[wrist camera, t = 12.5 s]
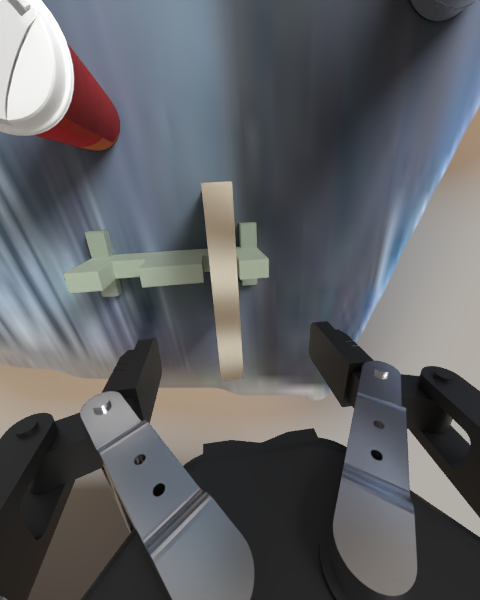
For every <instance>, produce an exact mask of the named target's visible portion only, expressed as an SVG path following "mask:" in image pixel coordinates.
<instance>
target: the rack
mask: <svg viewBox="0 0 480 600" xmlns="http://www.w3.org/2000/svg"><path fill="white" fill-rule="evenodd" d="M85 236H86V239H87V243H88V247H89V250H90V254H91V257H92V259H90V260H88V261H86V262H84V263H82V264H80V265H79V266H77V267H75V268H73V269H71V270H69V271H67V272H66V273H64V277H65V281H66V284H67V287H68V290H69V293H80V292H93V291H101V294H102V297H112V296H119V295H120V294H121V293H122V288H121V284H120V280H119V278H132V277H140V280H141V284H142V288H143V287H155V286H168V285H180V284H193V283H204V272H210V265H209V255H208V249H192V250H177V251H162V252H146V253H131V254H116V255H113V250H112V246H111V242H110V238H109V234H108V230H99V231H89V232H85ZM239 241H240V246H238V247H236V258H237V274H238V276H239V279H240V280H241V283H242V285H243V286H245V285H257V278H268V277H269V259H268V258H267V257H266V256H265V255H264V254H263V253H262V252H261V251H260V250H259V249H258V248H257V231H256V223H255V222H244V223H239Z"/></svg>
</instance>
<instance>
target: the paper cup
mask: <svg viewBox="0 0 480 600" xmlns="http://www.w3.org/2000/svg"><path fill="white" fill-rule="evenodd" d="M0 131H1V132H4V133H7V134H12V135H19V136H30V135H35V136H39V137H43V138H46V139H50V140H54V141H57V142H61V143H65V144H69V145H72V146H76V147H80V148H84V149H89V150H95V151H100V150H105V149H108V148H110V147H111V146H112V145H113V144H114V143H115V142H116V140H117V139H118V136H119V133H120V120H119V116H118V113H117V111H116V109H115V107H114V105H113V103H112V102H111V100H110V99H109V97H108V96H107V95H106V93H105V92H104V91H103V89H102V88H101V87H100V85H99V84H98V83H97V81H96V80H95V79H94V77H93V76H92V75H91V73H90V72H89V71H88V69H87V68H86V67H85V65H84V64H83V63H82V62H81V60H80V59H79V58H78V56H77V55H76V54H75V52H74V51H73V50H72V49H71V47H70V46H69V45H68V43H67V42H66V39H65V37H64V35H63V33H62V31H61V29H60V27H59V25H58V23H57V22H56V20H55V19H54V17H53V15H52V14H51V12H50V11H49V10H48V8H47V7H46V6H45V5H44V3H43V2H42V1H41V0H0Z"/></svg>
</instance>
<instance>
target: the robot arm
mask: <svg viewBox="0 0 480 600" xmlns="http://www.w3.org/2000/svg"><path fill="white" fill-rule="evenodd" d="M410 1H411V2H412V4H413V6H414V8H415V9H416V10H417V11H418V13H419V14H420V15H421V16H423V17H425V18H427V19H428V20H433V21H443V20H447V19H449V18H452V17H454V16H455V15H457V14H458V13H459V12H461V11H462V10H464V9H465V8H467V7H468V6H470V5H472V4H473V3H474V2H476V0H410ZM309 354H310V357H311V360H312V361H313V363H314V364H315V366H316V367H317V369H318V370H319V372H320V374H321V375H322V377H323V378H324V380H325V381H326V383H327V384H328V386H329V387H330V389H331V391H332V392H333V394H334V395H335V397H336V398H337V400H338V401H339V403H340V404H341V406H342V407H347V406H353V408H354V413H353V418H352V424H351V429H350V435H349V439H348V445H347V447H345V446H343V445H341V444H339V443H337V442H334V441H331V440H328V439H323V438H318V437H317V435H316V432H315V430H314V429H313V428H312V429H305V430H299V431H291V432H287V433H284V434H282V435H279V436H277V437H275V438H272V439H270V440H268V441H265V442H262V443H256V442H246V441H235V440H229V441H222V442H215V443H208V444H203V454H202V455H200V456H198V457H196V458H194V459H192V460H191V461H189V462H188V463H186V464H185V465H184V466H182V465H181V463H180V462H179V461H178V460H177V458H176V457H175V456H174V454H173V453H172V452H171V451H170V450H169V448H168V447H167V446H166V444H165V443H164V442H163V441H162V439H161V438H160V436H159V435H158V434H157V433H156V431H155V430H154V429H153V428H152V426H151V425H150V420H151V416H152V412H153V407H154V403H155V399H156V395H157V391H158V387H159V383H160V379H161V373H162V367H161V360H160V355H159V350H158V345H157V341H156V338H147V339H139V340H138V342H137V345H136V347H135V349H134V350H128V351H127V352H126V353H125V354H124V355H122V356H121V357H120V359H119V361H118V363H117V366H116V367H115V369H114V370H113V373H112V374H111V376H110V378H109V380H108V382H107V384H106V386H105V388H104V390H103V391H102V393H101V394H98V395H96V396H94V397H92V398H91V399H90V400H88V401H87V402H86V403H85V404H84V405H83V407H82V409H81V411H80V413H78V414H75V415H72V416H69V417H66V418H63V419H60V420H58V421H54V419H53V417H52V415H51V414H48V413H39V414H34V415H31V416H29V417H26V418H24V419H22V420H21V421H19V422H17V423H16V424H14V425H13V426H12V427H11V428H9V429H8V431H6V432H5V434H4V435H3V436H2V438H1V439H0V600H27V599H28V597H29V594H30V592H31V589H32V587H33V584H34V582H35V579H36V577H37V574H38V572H39V569H40V567H41V564H42V562H43V559H44V557H45V554H46V552H47V549H48V547H49V544H50V542H51V539H52V537H53V534H54V532H55V529H56V527H57V524H58V522H59V519H60V517H61V514H62V512H63V509H64V506H65V504H66V502H67V499H68V497H69V494H70V492H71V489H72V487H73V484H74V482H75V479H77V478H79V477H82V476H84V475H86V474H88V473H91V472H93V471H95V470H97V469H100V468H101V469H102V472H103V474H104V476H105V478H106V480H107V482H108V485H109V486H110V489H111V491H112V493H113V495H114V497H115V500H116V501H117V504H118V506H119V508H120V511H121V513H122V515H123V518H124V520H125V522H126V525H127V527H128V529H129V531H130V534H129V536H128V537H127V538H126V540H125V541H124V542H123V544H122V545H121V546H120V548H119V549H118V550H117V552H116V553H115V554H114V556H113V557H112V558H111V560H110V561H109V562H108V564H107V565H106V567H105V568H104V569H103V570H102V572H101V573H100V574H99V576H98V577H97V578H96V580H95V581H94V583H93V584H92V585H91V587H90V588H89V589H88V591H87V592H86V593H85V595H84V596H83V597H82V599H81V600H480V537H479V536H477V535H476V534H474V533H473V532H471V531H470V530H468V529H467V528H465V527H464V526H462V525H461V524H459V523H458V522H456V521H455V520H454V519H452V518H451V517H449V516H448V515H446V514H445V513H443V512H442V511H440V510H439V509H437V508H436V507H434V506H433V505H431V504H430V503H429V502H427V501H426V500H424V499H423V498H421V497H420V496H418V495H417V494H415V493H414V492H412V491H411V490H410V487H409V467H408V466H409V465H408V443H407V429H409V430H410V431H411V432H412V434H413V435H414V436H415V437H416V439H417V440H418V441H419V442H420V444H421V445H422V446H423V447H424V449H426V451H427V452H428V454H429V455H430V456H431V457H432V459H433V460H434V461H435V462H436V464H437V465H438V466H439V467H440V468H441V470H442V471H443V472H444V474H445V475H446V476H447V477H448V479H449V480H450V481H451V482H452V483H453V485H454V486H455V487H456V488H457V490H458V491H459V492H460V494H461V495H462V496H463V497H464V499H465V500H466V501H467V502H468V504H469V505H470V506H471V507H472V508H473V510H474V511H475V512H476V514H477V515H478V516H479V517H480V391H479V390H477V389H476V388H475V387H473V386H472V385H471V384H469V383H468V382H467V381H465V380H464V379H463V378H461V377H460V376H459V375H457V374H456V373H454V372H452V371H450V370H447V369H444V368H441V367H435V366H428V367H424V368H423V369H422V371H421V374H420V376H412V375H402V374H400V372H399V371H398V370H397V369H395V367H393V366H391V365H389V364H387V363H384V362H381V361H374V360H373V359H372V358H371V357H369V356H368V355H367V354H366V353H365V352H364V351H363V350H362V349H361V348H360V347H359V346H357V344H356V343H355V342H354V341H353V340H352V339H351V338H350V337H349V336H348V335H347V334H345V333H344V332H342V331H340V330H335V329H334V328H333V327H332V326H331V325H330V324H329V323H328V322H327V321H325V322H315V323H312V324H311V329H310V341H309ZM452 419H454V420H455V421H456V422H457V423H458V424H459V425H460V426H461V427H462V428H463V429H464V430H465V431H466V433H467V434H468V436H469V438H470V441H471V445H469V443H468V442H467V441H465V439H463V438H462V436H461V435H460V434H459V433H458V432H457V431H456V430H455V429H453V427H452V426H451V425H450V424H451V422H452Z"/></svg>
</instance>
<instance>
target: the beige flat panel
mask: <svg viewBox="0 0 480 600" xmlns="http://www.w3.org/2000/svg"><path fill="white" fill-rule="evenodd" d="M201 187H202V197H203V207H204V216H205V226H206V236H207V245H208V255H209V265H210V274H211V284H212V294H213V303H214V313H215V323H216V333H217V342H218V352H219V362H220V371H221V381H223V380H231V379H238V378H244V376H243V359H242V342H241V325H240V308H239V292H238V275H237V258H236V241H235V224H234V207H233V190H232V181H229V182H209V183H201Z"/></svg>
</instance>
